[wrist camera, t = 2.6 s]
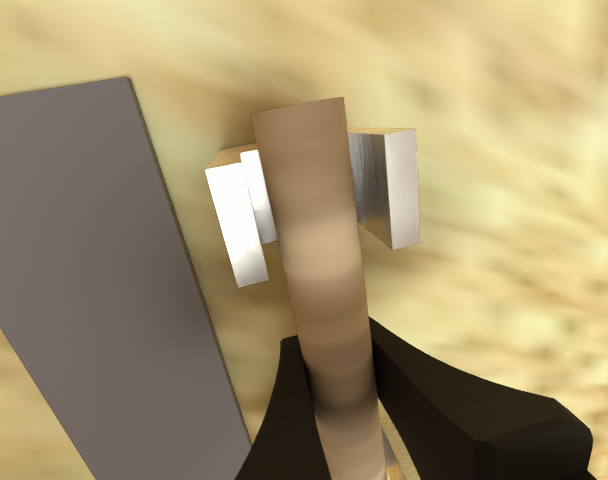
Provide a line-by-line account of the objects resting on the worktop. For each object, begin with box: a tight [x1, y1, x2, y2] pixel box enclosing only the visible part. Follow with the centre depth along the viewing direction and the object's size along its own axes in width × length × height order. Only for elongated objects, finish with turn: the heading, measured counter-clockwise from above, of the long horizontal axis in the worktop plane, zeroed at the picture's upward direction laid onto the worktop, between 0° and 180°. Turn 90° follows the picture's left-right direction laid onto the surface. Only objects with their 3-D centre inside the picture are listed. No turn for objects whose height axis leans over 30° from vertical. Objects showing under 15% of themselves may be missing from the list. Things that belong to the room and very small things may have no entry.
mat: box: [0, 77, 252, 480], centre depth 15 cm, size 22×8×1 cm, turn 10°
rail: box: [250, 97, 387, 480], centre depth 11 cm, size 18×2×2 cm, turn 10°
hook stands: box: [205, 128, 421, 480], centre depth 13 cm, size 16×5×6 cm, turn 10°
